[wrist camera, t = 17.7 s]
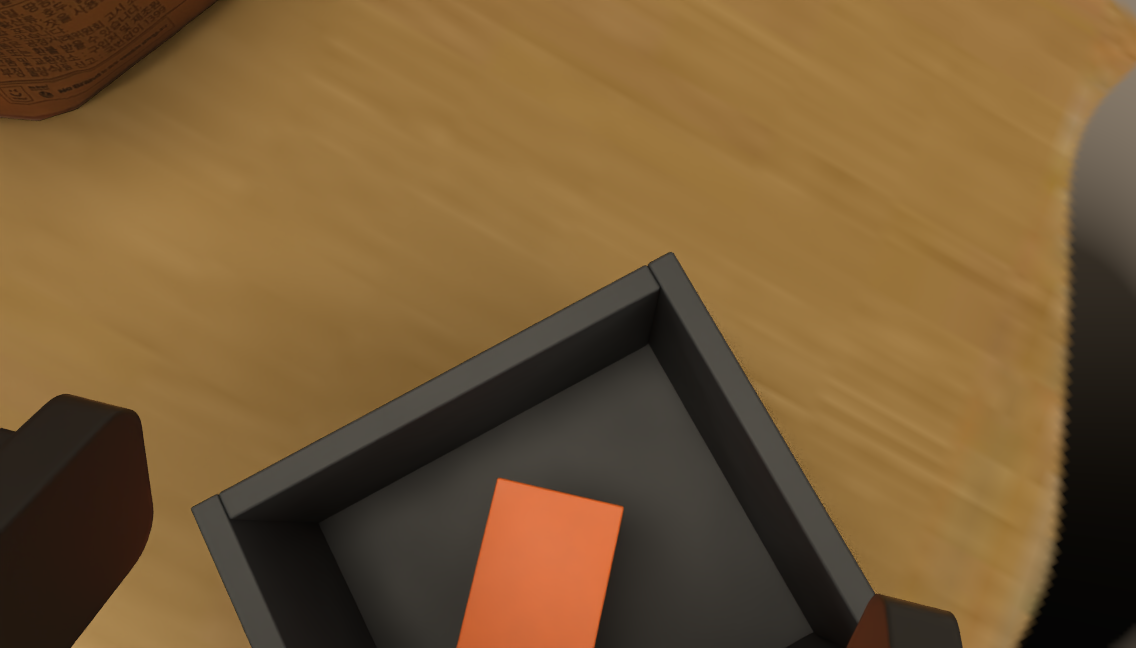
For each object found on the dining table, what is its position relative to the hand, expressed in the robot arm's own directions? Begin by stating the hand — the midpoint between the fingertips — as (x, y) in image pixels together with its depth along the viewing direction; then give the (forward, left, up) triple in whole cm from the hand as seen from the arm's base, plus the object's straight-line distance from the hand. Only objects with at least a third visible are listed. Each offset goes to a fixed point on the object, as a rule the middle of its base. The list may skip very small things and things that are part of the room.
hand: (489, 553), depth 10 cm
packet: (-1, -1, -23) cm, 23 cm away
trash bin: (-1, -1, -23) cm, 23 cm away
